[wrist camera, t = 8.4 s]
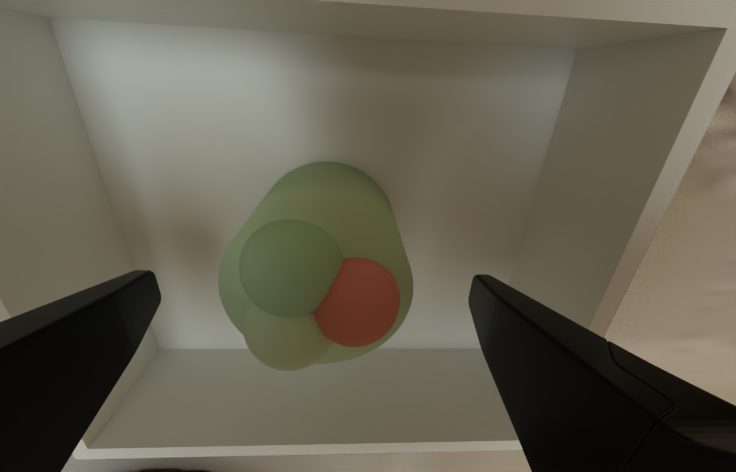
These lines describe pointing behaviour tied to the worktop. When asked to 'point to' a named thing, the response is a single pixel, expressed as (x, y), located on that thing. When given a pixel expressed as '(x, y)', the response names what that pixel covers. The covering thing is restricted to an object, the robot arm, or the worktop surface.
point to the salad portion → (317, 270)
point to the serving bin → (354, 148)
